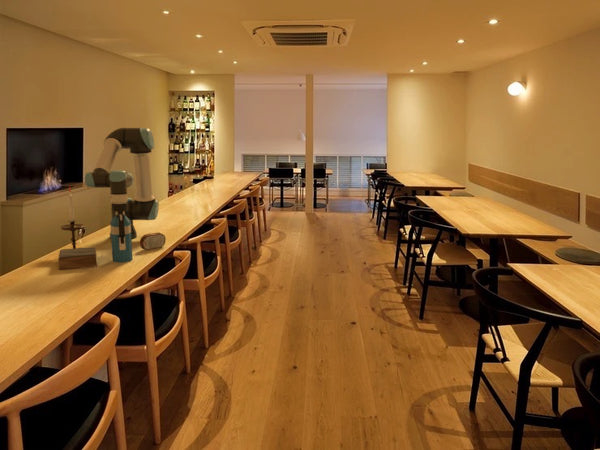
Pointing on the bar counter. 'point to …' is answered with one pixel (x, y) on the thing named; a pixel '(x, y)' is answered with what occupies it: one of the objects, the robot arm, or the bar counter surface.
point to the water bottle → (118, 254)
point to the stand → (77, 258)
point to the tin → (152, 241)
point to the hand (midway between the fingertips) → (121, 247)
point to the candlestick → (72, 221)
